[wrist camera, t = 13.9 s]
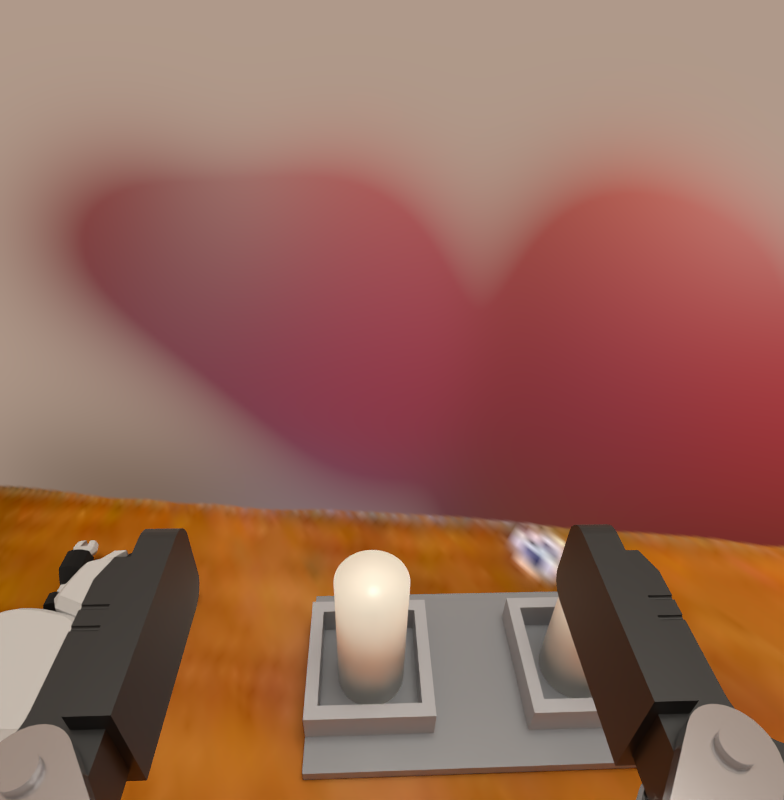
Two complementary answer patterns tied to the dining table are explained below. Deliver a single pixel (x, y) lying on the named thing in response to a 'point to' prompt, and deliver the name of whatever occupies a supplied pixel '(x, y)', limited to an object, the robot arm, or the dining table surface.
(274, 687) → the dining table surface
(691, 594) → the dining table surface
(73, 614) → the robot toy
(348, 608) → the cream white cylinder
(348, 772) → the grey double candle holder
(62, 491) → the dining table surface
